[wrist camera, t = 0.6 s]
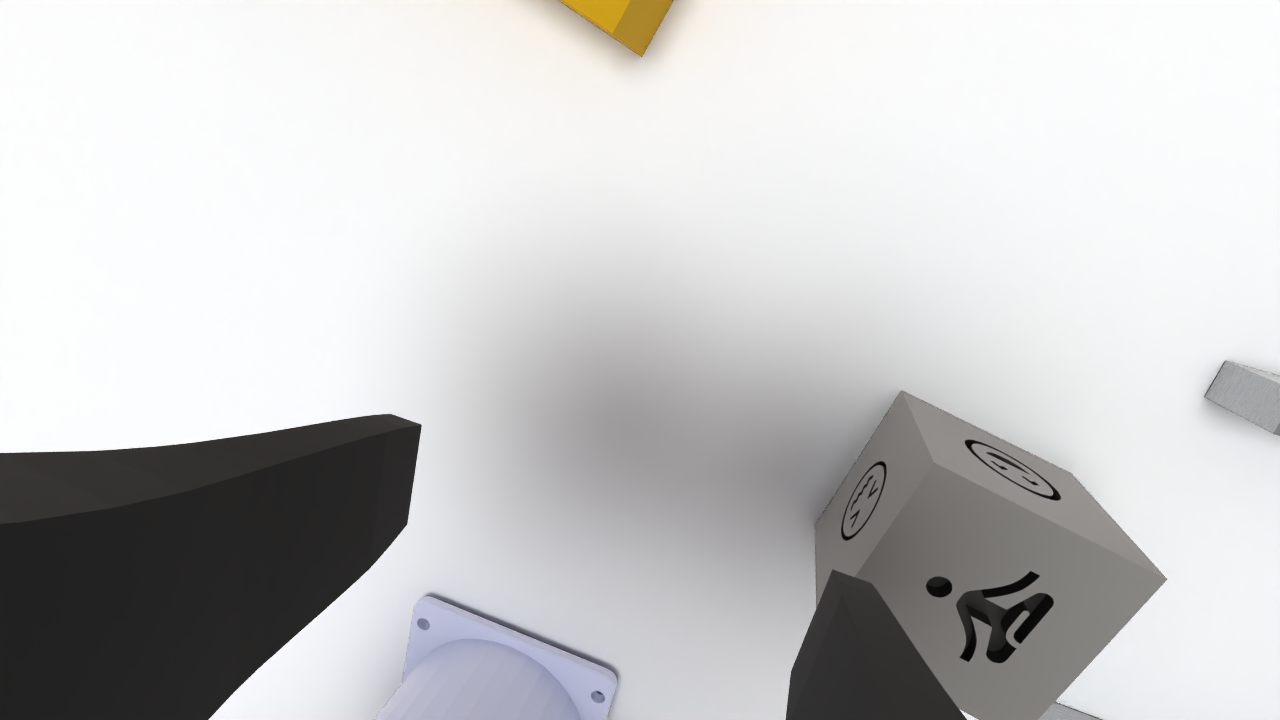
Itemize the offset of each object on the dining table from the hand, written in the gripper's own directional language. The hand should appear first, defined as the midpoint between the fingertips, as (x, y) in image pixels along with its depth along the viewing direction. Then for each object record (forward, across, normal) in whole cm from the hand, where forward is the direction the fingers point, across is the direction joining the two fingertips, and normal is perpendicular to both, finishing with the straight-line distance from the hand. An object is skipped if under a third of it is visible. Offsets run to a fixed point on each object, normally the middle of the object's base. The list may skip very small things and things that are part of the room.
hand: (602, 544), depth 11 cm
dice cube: (+10, -8, +1) cm, 12 cm away
